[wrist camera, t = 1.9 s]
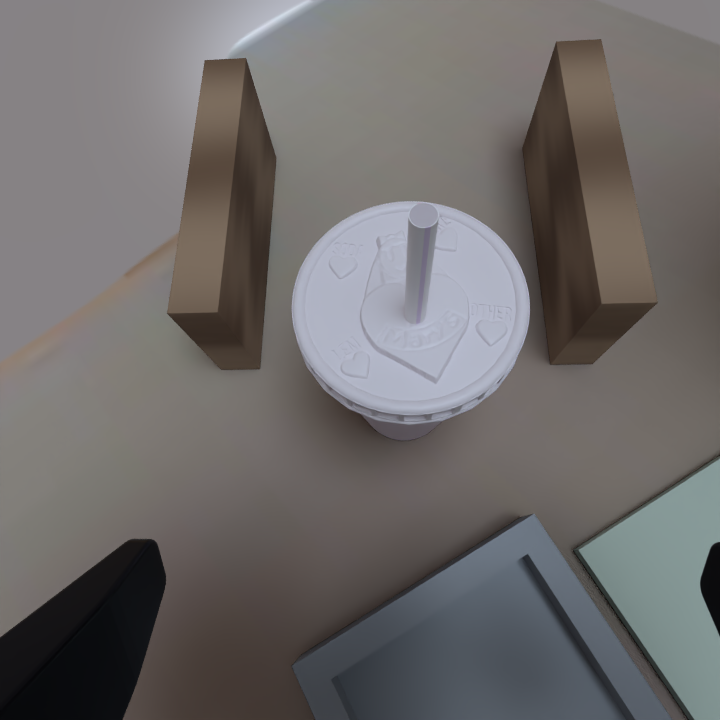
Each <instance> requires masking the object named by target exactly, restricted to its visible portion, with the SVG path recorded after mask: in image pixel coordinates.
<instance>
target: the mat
mask: <svg viewBox="0 0 720 720" xmlns="http://www.w3.org/2000/svg"><path fill="white" fill-rule="evenodd" d="M717 542H720V456H718V457H717V458H715V459H714V460H712V461H711V462H709V463H707V464H706V465H704V466H703V467H701V468H700V469H698V470H697V471H695V472H694V473H692V474H690V475H689V476H687V477H686V478H684V479H683V480H681V481H680V482H678V483H676V484H675V485H673V486H672V487H670V488H669V489H667V490H666V491H664V492H663V493H661V494H659V495H658V496H656V497H655V498H653V499H652V500H650V501H649V502H647V503H645V504H644V505H642V506H641V507H639V508H638V509H636V510H635V511H633V512H632V513H630V514H628V515H627V516H625V517H624V518H622V519H621V520H619V521H618V522H616V523H614V524H613V525H611V526H610V527H608V528H607V529H605V530H604V531H602V532H601V533H599V534H597V535H596V536H594V537H593V538H591V539H590V540H588V541H587V542H585V543H583V544H582V545H580V546H579V547H577V548H576V549H574V552H575V553H576V555H577V556H578V558H579V559H580V561H581V562H582V563H583V565H584V566H585V568H586V569H587V571H588V572H589V574H590V575H591V577H592V578H593V580H594V581H595V583H596V584H597V586H598V587H599V588H600V590H601V591H602V593H603V594H604V596H605V597H606V599H607V600H608V602H609V603H610V605H611V606H612V608H613V609H614V610H615V612H616V613H617V615H618V616H619V618H620V619H621V621H622V622H623V624H624V625H625V627H626V628H627V630H628V631H629V633H630V634H631V635H632V637H633V638H634V640H635V641H636V643H637V644H638V646H639V647H640V649H641V650H642V652H643V653H644V655H645V656H646V657H647V659H648V660H649V662H650V663H651V665H652V666H653V668H654V669H655V671H656V672H657V674H658V675H659V677H660V678H661V680H662V681H663V682H664V684H665V685H666V687H667V688H668V690H669V691H670V693H671V694H672V696H673V697H674V699H675V700H676V702H677V703H678V704H679V706H680V707H681V709H682V710H683V712H684V713H685V715H686V716H687V718H688V719H689V720H720V636H719V634H718V631H717V629H716V627H715V624H714V622H713V620H712V617H711V615H710V613H709V610H708V608H707V606H706V603H705V601H704V599H703V596H702V593H701V589H700V579H701V575H702V572H703V569H704V566H705V563H706V560H707V557H708V554H709V551H710V548H711V546H712V545H713V544H714V543H717Z"/></svg>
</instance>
